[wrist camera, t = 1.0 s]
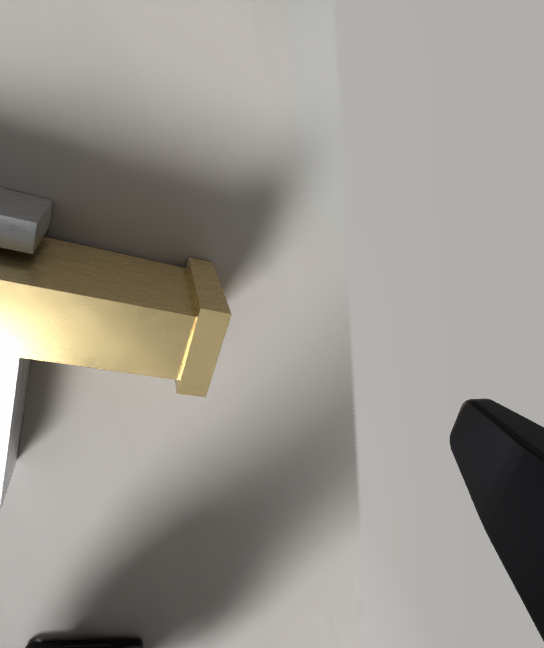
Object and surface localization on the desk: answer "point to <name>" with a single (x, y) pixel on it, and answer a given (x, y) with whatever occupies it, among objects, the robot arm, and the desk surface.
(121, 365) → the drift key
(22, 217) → the socket
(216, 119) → the desk surface
